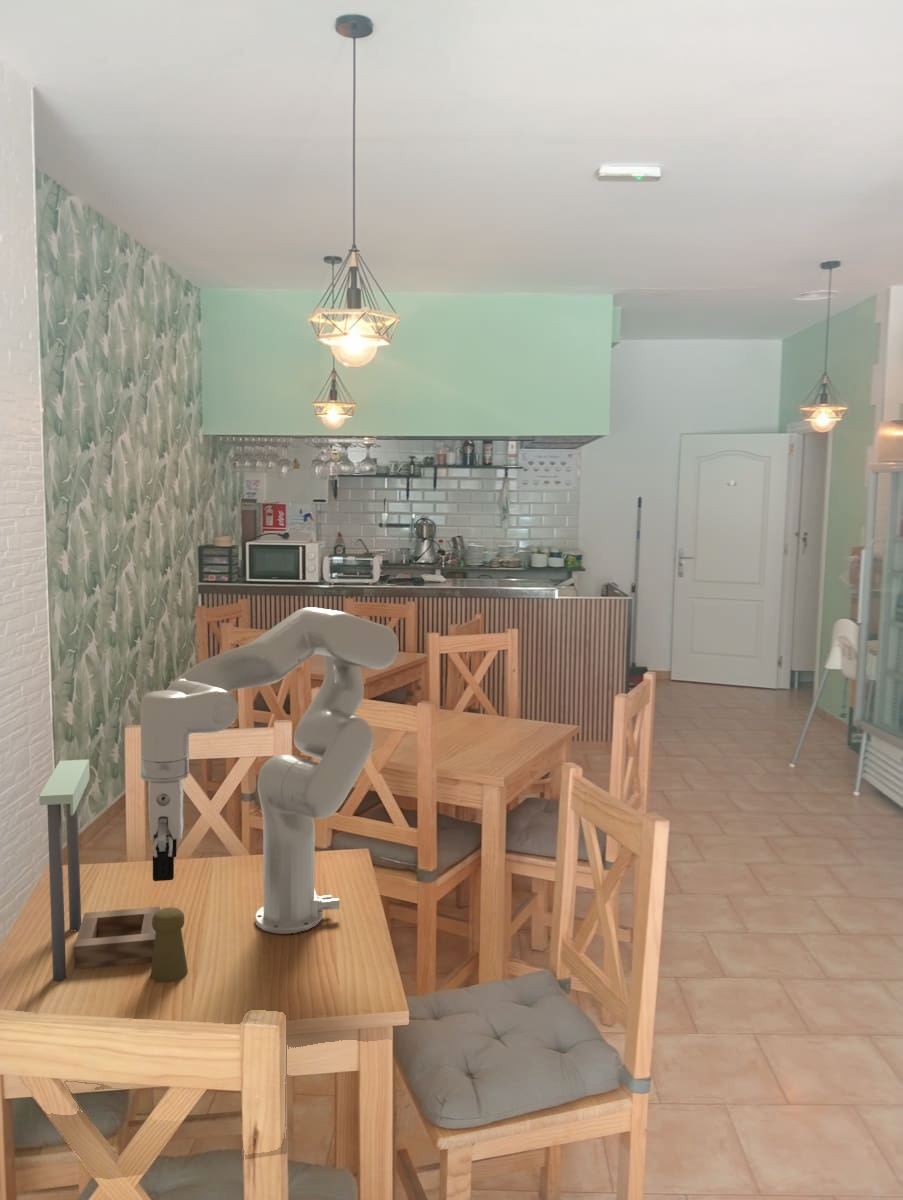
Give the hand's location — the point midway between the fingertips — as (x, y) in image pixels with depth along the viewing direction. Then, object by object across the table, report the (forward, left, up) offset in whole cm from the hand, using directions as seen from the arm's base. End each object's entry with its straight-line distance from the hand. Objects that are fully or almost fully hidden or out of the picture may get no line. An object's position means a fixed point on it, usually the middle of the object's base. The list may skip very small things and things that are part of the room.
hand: (165, 868), depth 157 cm
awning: (+17, -11, -19) cm, 27 cm away
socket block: (+9, -11, -19) cm, 23 cm away
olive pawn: (0, 0, -19) cm, 19 cm away
